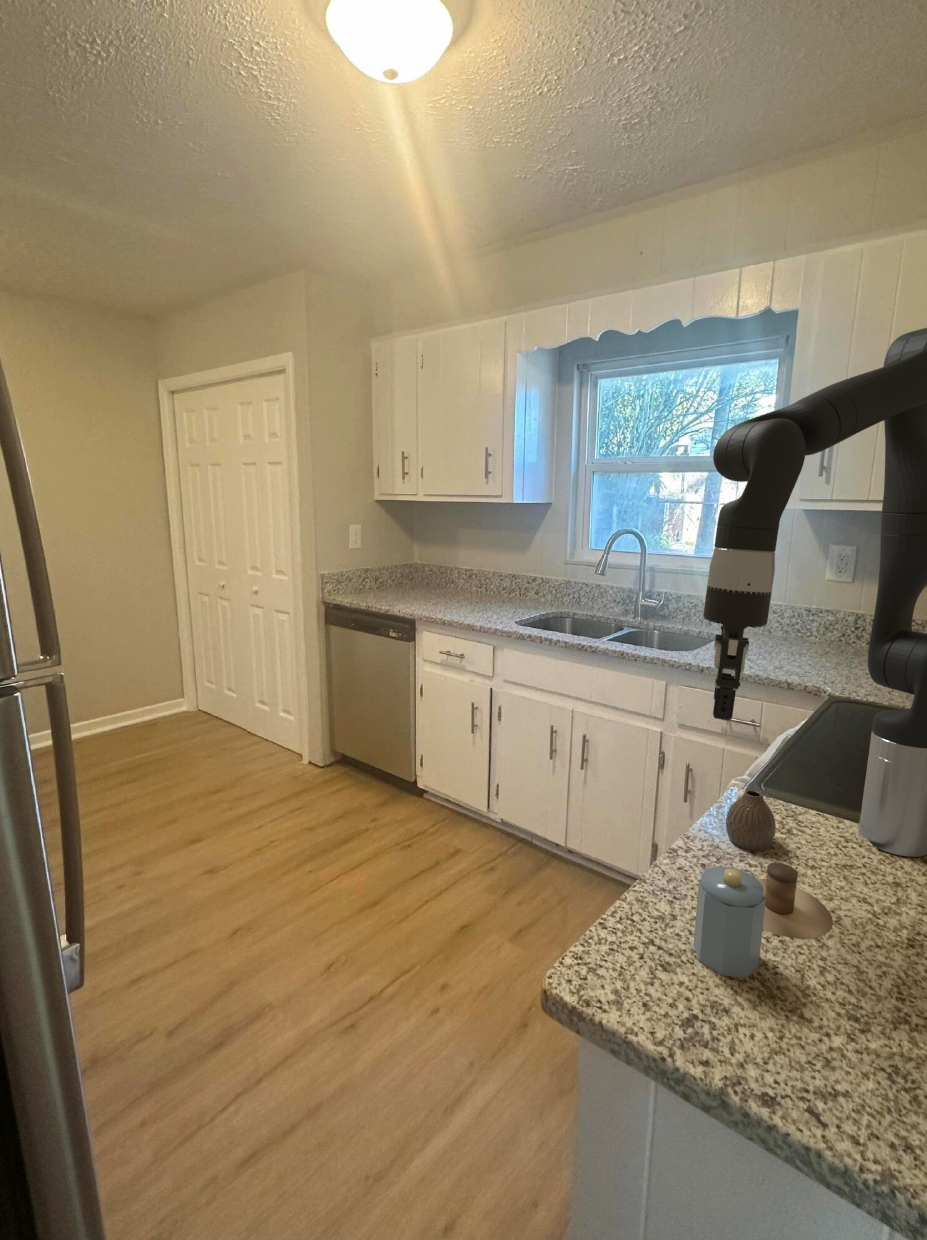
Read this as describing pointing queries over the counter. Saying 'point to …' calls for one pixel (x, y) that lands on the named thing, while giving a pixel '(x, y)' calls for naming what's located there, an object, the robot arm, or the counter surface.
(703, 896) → the octagonal knobbed canister
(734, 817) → the vase
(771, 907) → the spice jar
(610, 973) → the counter surface
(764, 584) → the robot arm
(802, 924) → the trivet
